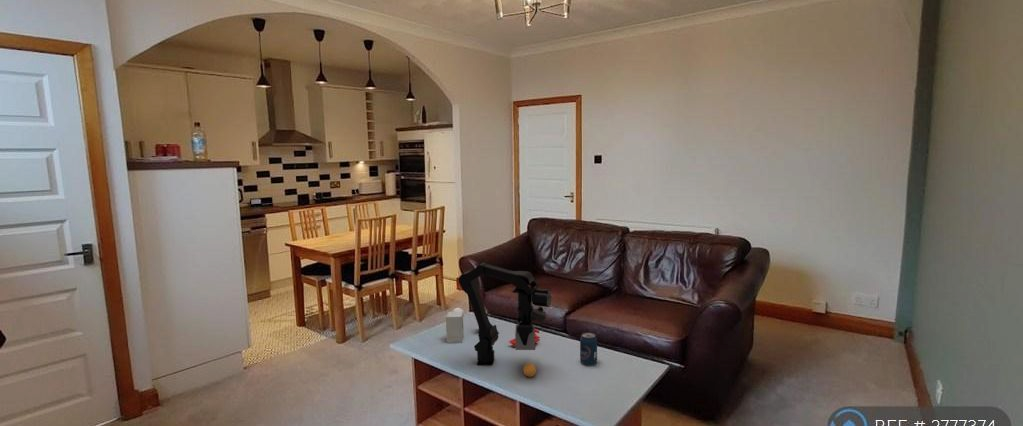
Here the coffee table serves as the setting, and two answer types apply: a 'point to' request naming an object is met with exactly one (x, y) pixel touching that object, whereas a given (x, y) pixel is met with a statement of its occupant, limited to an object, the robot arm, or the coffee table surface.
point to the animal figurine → (535, 338)
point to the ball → (529, 369)
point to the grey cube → (530, 341)
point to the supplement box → (454, 327)
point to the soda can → (588, 349)
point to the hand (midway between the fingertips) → (525, 341)
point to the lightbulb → (458, 310)
